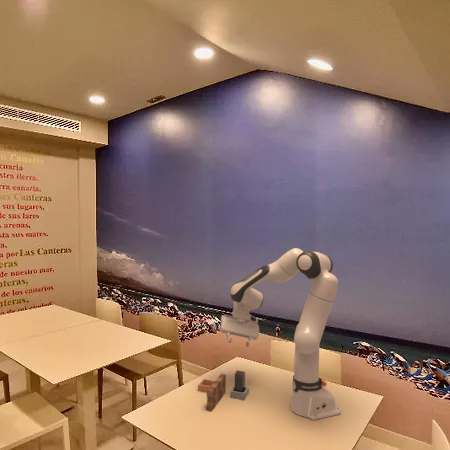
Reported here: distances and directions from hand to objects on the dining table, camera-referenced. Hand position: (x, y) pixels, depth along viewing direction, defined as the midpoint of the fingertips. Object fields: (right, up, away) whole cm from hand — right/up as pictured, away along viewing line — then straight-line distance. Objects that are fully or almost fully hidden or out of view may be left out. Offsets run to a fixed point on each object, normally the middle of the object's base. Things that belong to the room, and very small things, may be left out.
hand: (238, 344), depth 173 cm
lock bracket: (-16, -24, +3) cm, 29 cm away
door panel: (-11, -24, -8) cm, 27 cm away
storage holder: (0, -24, -2) cm, 24 cm away
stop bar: (0, -24, -2) cm, 24 cm away
